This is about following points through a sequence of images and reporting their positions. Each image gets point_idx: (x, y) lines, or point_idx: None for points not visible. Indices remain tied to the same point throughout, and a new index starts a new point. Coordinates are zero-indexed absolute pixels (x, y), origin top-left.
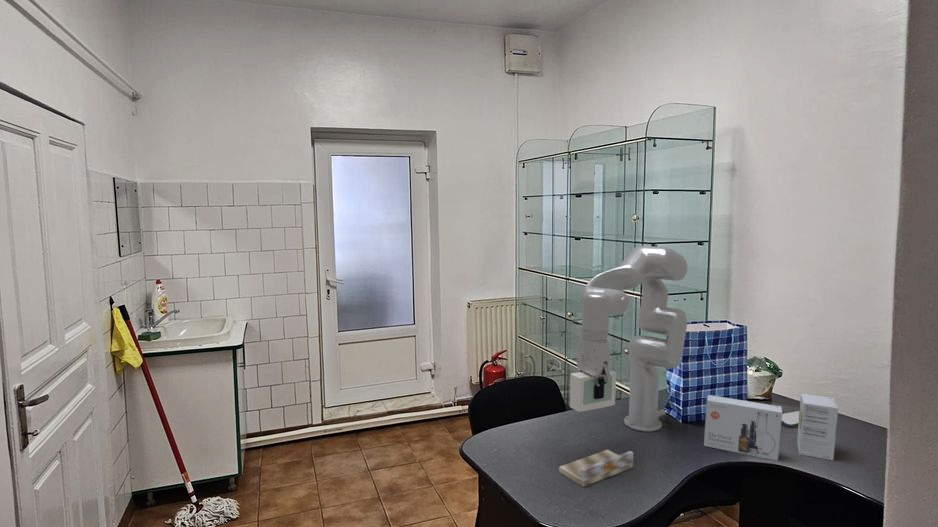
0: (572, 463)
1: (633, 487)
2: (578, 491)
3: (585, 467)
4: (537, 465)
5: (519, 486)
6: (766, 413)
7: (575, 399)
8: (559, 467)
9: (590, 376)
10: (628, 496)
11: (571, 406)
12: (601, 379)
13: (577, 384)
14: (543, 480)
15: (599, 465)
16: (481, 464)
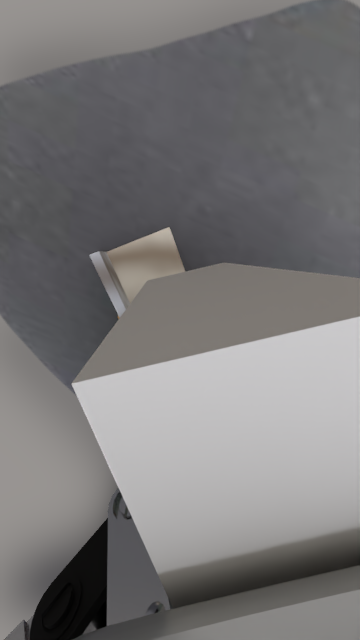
0: (177, 264)
1: (89, 345)
2: (85, 237)
3: (104, 265)
4: (206, 188)
5: (121, 98)
6: None
7: (180, 279)
8: (168, 227)
9: (161, 573)
10: (60, 323)
11: (209, 266)
12: (63, 626)
13: (162, 312)
14: (139, 175)
15: (112, 302)
16: (250, 19)
